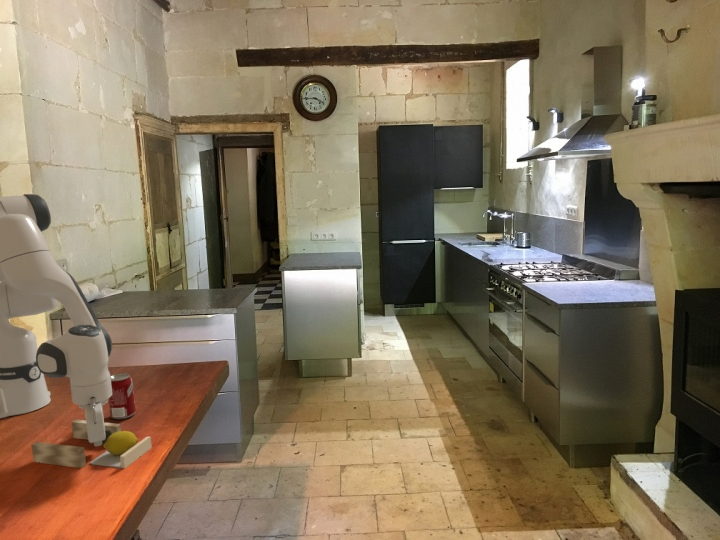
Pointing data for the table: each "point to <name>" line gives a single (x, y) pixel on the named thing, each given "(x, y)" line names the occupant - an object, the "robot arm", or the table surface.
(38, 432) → the table surface
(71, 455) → the chute
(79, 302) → the robot arm
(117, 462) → the grey ledged plate
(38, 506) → the table surface
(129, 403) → the soda can
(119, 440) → the lemon
